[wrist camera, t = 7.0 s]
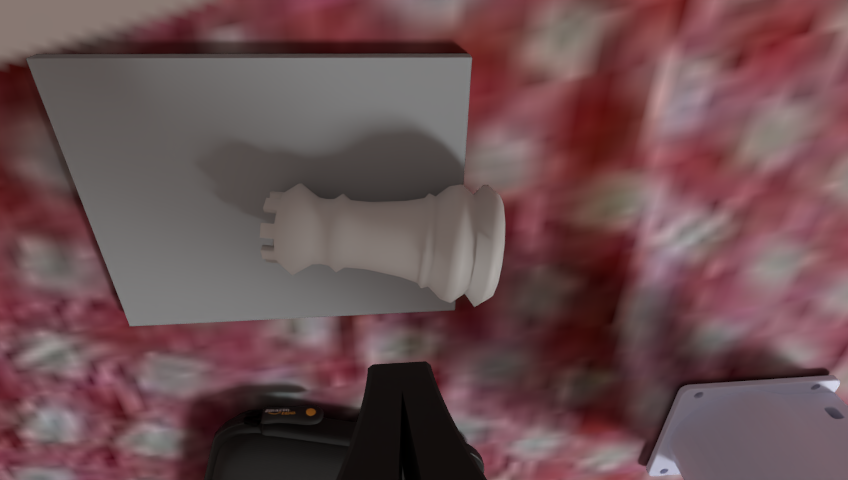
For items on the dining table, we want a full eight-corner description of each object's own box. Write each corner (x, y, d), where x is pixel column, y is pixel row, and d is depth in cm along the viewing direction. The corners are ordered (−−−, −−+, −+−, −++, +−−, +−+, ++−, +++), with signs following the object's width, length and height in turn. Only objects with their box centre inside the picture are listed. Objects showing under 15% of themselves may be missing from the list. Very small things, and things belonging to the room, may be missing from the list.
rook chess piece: (479, 222, 21) (288, 204, 21) (505, 160, 17) (270, 136, 17) (479, 324, 19) (268, 307, 19) (509, 280, 15) (242, 257, 15)
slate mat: (468, 53, 17) (471, 57, 17) (452, 301, 23) (454, 310, 23) (36, 54, 16) (25, 58, 16) (135, 316, 22) (129, 326, 21)
